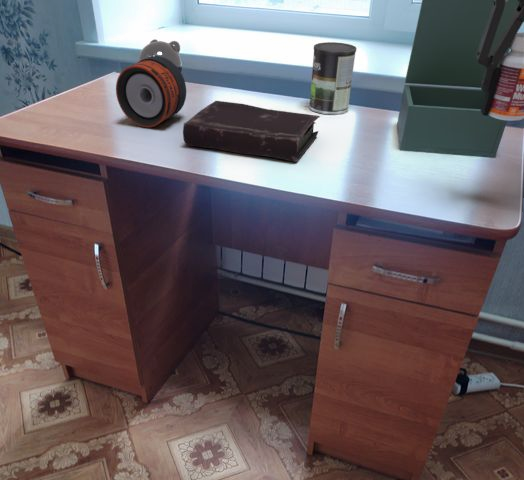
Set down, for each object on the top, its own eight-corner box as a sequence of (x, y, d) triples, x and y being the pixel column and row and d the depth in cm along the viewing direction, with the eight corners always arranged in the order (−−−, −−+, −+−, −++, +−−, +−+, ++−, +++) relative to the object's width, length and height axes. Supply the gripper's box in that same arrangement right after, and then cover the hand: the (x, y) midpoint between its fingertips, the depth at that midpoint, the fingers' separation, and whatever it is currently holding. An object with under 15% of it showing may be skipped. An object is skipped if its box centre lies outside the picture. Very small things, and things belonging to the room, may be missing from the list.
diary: (296, 164, 102) (297, 139, 98) (183, 147, 108) (181, 123, 104) (318, 135, 115) (320, 112, 112) (217, 121, 121) (217, 99, 118)
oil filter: (120, 124, 118) (110, 62, 109) (145, 110, 127) (138, 51, 118) (170, 131, 115) (164, 67, 106) (192, 116, 124) (188, 56, 115)
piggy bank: (191, 83, 146) (188, 38, 138) (171, 97, 135) (167, 48, 128) (155, 80, 148) (151, 35, 140) (133, 93, 137) (126, 45, 129)
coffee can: (312, 115, 126) (317, 50, 117) (306, 102, 134) (310, 41, 125) (352, 114, 127) (360, 51, 118) (344, 102, 135) (351, 42, 126)
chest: (495, 157, 107) (509, 112, 101) (399, 150, 109) (408, 105, 103) (482, 131, 120) (494, 90, 114) (396, 125, 122) (404, 84, 116)
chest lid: (528, -2, 99) (523, -17, 103) (424, -7, 101) (423, -21, 105) (495, 88, 113) (492, 72, 117) (404, 83, 115) (404, 67, 119)
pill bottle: (510, 124, 79) (536, 40, 72) (478, 114, 83) (499, 34, 76) (533, 117, 82) (561, 36, 74) (501, 108, 86) (524, 30, 78)
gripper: (629, -69, 69) (561, 110, 84) (483, -72, 71) (443, 104, 86) (651, -68, 63) (575, 125, 78) (493, -70, 65) (448, 117, 81)
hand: (506, 114), depth 82 cm, fingers closed on pill bottle, 6 cm apart
